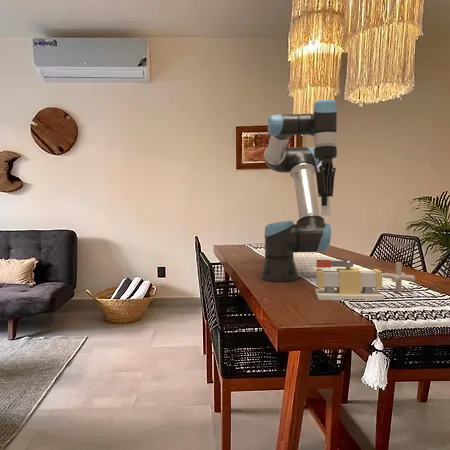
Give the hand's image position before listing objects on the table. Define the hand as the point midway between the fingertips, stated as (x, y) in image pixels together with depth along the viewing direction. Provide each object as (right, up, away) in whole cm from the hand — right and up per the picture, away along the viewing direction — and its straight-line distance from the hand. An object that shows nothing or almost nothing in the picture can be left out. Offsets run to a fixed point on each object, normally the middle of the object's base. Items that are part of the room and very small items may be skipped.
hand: (325, 215), depth 130 cm
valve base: (+5, -27, -7) cm, 28 cm away
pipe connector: (+24, -26, -2) cm, 36 cm away
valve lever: (+1, -17, -7) cm, 18 cm away
